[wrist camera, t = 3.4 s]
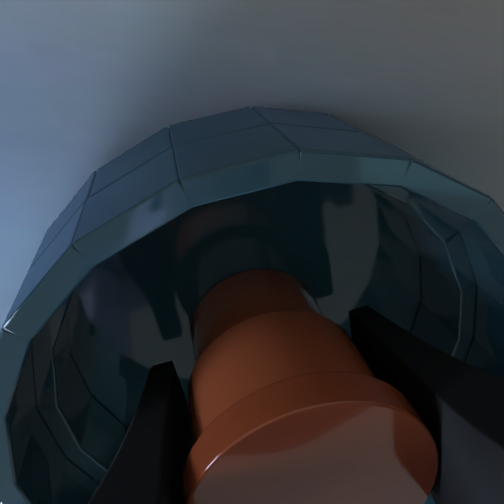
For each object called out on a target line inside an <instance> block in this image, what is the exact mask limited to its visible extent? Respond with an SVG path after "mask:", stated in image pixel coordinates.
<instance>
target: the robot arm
mask: <svg viewBox="0 0 504 504" xmlns="http://www.w3.org/2000/svg"><path fill="white" fill-rule="evenodd" d="M349 319H350V329H351V339H352V340H353V342H354V344H355V345H356V347H357V348H358V350H359V351H360V353H361V355H362V356H363V358H364V359H365V361H366V362H367V364H368V366H369V367H370V369H371V370H372V372H373V373H374V375H375V377H376V378H377V379H379V380H382V381H384V382H386V383H387V384H389V385H391V386H393V387H395V388H396V389H397V390H398V391H400V392H401V393H402V394H403V395H404V396H405V397H406V398H407V399H408V400H409V402H410V403H411V404H412V406H413V407H414V409H415V410H416V412H417V413H418V414H419V416H420V417H421V419H422V420H423V422H424V423H425V425H426V426H427V428H428V429H429V431H430V432H431V434H432V436H433V438H434V440H435V443H436V446H437V450H438V460H439V464H438V473H437V477H436V480H435V483H434V486H433V488H432V490H431V493H430V494H431V496H432V498H433V500H434V502H435V504H504V378H503V377H500V376H497V375H494V374H492V373H489V372H487V371H484V370H482V369H479V368H477V367H475V366H473V365H470V364H468V363H466V362H463V361H461V360H459V359H457V358H455V357H453V356H451V355H449V354H447V353H445V352H443V351H441V350H439V349H437V348H435V347H433V346H432V345H430V344H428V343H426V342H425V341H423V340H421V339H420V338H418V337H416V336H415V335H413V334H411V333H409V332H408V331H406V330H405V329H403V328H401V327H400V326H398V325H397V324H395V323H394V322H392V321H391V320H389V319H387V318H386V317H384V316H383V315H381V314H380V313H378V312H377V311H375V310H374V309H372V308H371V307H369V306H364V307H360V308H357V309H353V310H350V311H349ZM192 447H193V440H192V431H191V421H190V412H189V406H188V403H187V400H186V398H185V395H184V392H183V389H182V386H181V383H180V381H179V378H178V375H177V372H176V369H175V367H174V364H173V361H168V362H164V363H161V364H157V365H154V366H152V367H151V368H150V370H149V374H148V377H147V380H146V384H145V387H144V390H143V393H142V395H141V398H140V401H139V404H138V406H137V409H136V411H135V414H134V416H133V419H132V421H131V424H130V426H129V428H128V431H127V433H126V435H125V437H124V439H123V441H122V444H121V446H120V448H119V450H118V452H117V454H116V456H115V458H114V460H113V462H112V464H111V466H110V467H109V469H108V471H107V473H106V475H105V476H104V478H103V480H102V482H101V483H100V485H99V487H98V488H97V490H96V491H95V493H94V495H93V496H92V498H91V499H90V501H89V502H88V504H183V500H182V486H181V483H182V474H183V470H184V466H185V463H186V460H187V458H188V455H189V453H190V451H191V449H192Z"/></svg>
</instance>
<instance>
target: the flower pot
mask: <svg viewBox="0 0 504 504" xmlns="http://www.w3.org/2000/svg"><path fill="white" fill-rule="evenodd" d="M190 333H191V343H192V350H193V357H194V365H195V366H194V368H193V370H192V373H191V376H190V379H189V384H188V403H189V412H190V421H191V431H192V440H193V447H192V449H191V451H190V453H189V455H188V458H187V460H186V463H185V466H184V470H183V474H182V483H181V486H182V500H183V504H424V503H425V501H426V500H427V498H428V496H429V495H430V493H431V490H432V488H433V486H434V483H435V480H436V477H437V473H438V464H439V460H438V450H437V446H436V443H435V440H434V438H433V436H432V434H431V432H430V431H429V429H428V428H427V426H426V425H425V423H424V422H423V420H422V419H421V417H420V416H419V414H418V413H417V412H416V410H415V409H414V407H413V406H412V404H411V403H410V402H409V400H408V399H407V398H406V397H405V396H404V395H403V394H402V393H401V392H400V391H398V390H397V389H396V388H395V387H393V386H391V385H389V384H387V383H386V382H384V381H382V380H379V379H377V378H376V377H375V375H374V373H373V372H372V370H371V369H370V367H369V366H368V364H367V362H366V361H365V359H364V358H363V356H362V355H361V353H360V351H359V350H358V348H357V347H356V345H355V344H354V342H353V340H352V339H351V337H350V336H349V335H348V334H347V332H346V331H345V330H344V329H343V328H342V327H340V326H339V325H338V324H337V323H335V322H333V321H332V320H330V319H328V318H326V316H325V314H324V313H323V311H322V309H321V308H320V306H319V304H318V303H317V301H316V299H315V298H314V296H313V294H312V293H311V291H310V290H309V288H308V287H307V286H306V285H305V284H304V283H303V282H302V281H300V280H299V279H297V278H296V277H294V276H292V275H290V274H288V273H285V272H281V271H278V270H271V269H255V270H248V271H244V272H240V273H237V274H234V275H232V276H230V277H228V278H226V279H224V280H223V281H221V282H219V283H218V284H217V285H215V286H214V287H213V288H211V289H210V290H209V291H208V292H207V293H206V294H205V296H204V297H203V298H202V299H201V301H200V302H199V304H198V306H197V307H196V309H195V312H194V314H193V317H192V321H191V328H190Z"/></svg>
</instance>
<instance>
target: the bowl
mask: <svg viewBox="0 0 504 504" xmlns="http://www.w3.org/2000/svg"><path fill="white" fill-rule="evenodd" d="M255 269H271V270H278V271H281V272H285V273H288V274H290V275H292V276H294V277H296V278H297V279H299V280H300V281H302V282H303V283H304V284H305V285H306V286H307V287H308V288H309V290H310V291H311V293H312V294H313V296H314V298H315V299H316V301H317V303H318V304H319V306H320V308H321V309H322V311H323V313H324V314H325V316H326V318H328V319H330V320H332V321H333V322H335V323H337V324H338V325H339V326H340V327H342V328H343V329H344V330H345V331H346V332H347V334H348V335H349V336H350V337H351V329H350V319H349V311H350V310H353V309H357V308H360V307H364V306H369V307H371V308H372V309H374V310H375V311H377V312H378V313H380V314H381V315H383V316H384V317H386V318H387V319H389V320H391V321H392V322H394V323H395V324H397V325H398V326H400V327H401V328H403V329H405V330H406V331H408V332H409V333H411V334H413V335H415V336H416V337H418V338H420V339H421V340H423V341H425V342H426V343H428V344H430V345H432V346H433V347H435V348H437V349H439V350H441V351H443V352H445V353H447V354H449V355H451V356H453V357H455V358H457V359H459V360H461V361H463V362H466V363H468V364H470V365H473V366H475V367H477V368H479V369H482V370H484V371H487V372H489V373H492V374H494V375H497V376H500V377H503V378H504V212H503V211H502V209H501V208H500V207H499V206H498V204H497V203H496V202H495V201H494V199H492V198H491V197H490V196H488V195H487V194H485V193H483V192H481V191H479V190H477V189H475V188H473V187H471V186H469V185H467V184H466V183H464V182H462V181H460V180H458V179H456V178H454V177H452V176H450V175H448V174H446V173H445V172H443V171H441V170H439V169H437V168H435V167H433V166H431V165H429V164H427V163H425V162H424V161H422V160H420V159H418V158H416V157H414V156H412V155H410V154H408V153H406V152H404V151H403V150H401V149H399V148H397V147H395V146H393V145H391V144H389V143H387V142H385V141H383V140H381V139H379V138H377V137H375V136H373V135H371V134H369V133H367V132H365V131H363V130H361V129H359V128H357V127H355V126H353V125H350V124H348V123H346V122H344V121H342V120H340V119H338V118H336V117H334V116H332V115H328V114H322V113H312V112H302V111H292V110H282V109H272V108H262V107H251V108H250V107H246V108H241V109H237V110H233V111H229V112H224V113H220V114H216V115H211V116H207V117H203V118H199V119H194V120H190V121H186V122H181V123H177V124H173V125H170V126H169V128H168V127H167V128H164V129H162V130H160V131H159V132H157V133H155V134H154V135H152V136H151V137H149V138H147V139H146V140H144V141H143V142H141V143H139V144H138V145H136V146H134V147H133V148H131V149H130V150H128V151H126V152H125V153H123V154H121V155H120V156H118V157H117V158H115V159H113V160H112V161H110V162H108V163H107V164H105V165H104V166H102V167H100V168H99V169H98V170H97V171H95V172H94V173H93V174H92V175H91V176H90V178H89V179H88V180H87V181H86V183H85V184H84V185H83V186H82V188H81V189H80V190H79V191H78V193H77V194H76V195H75V196H74V198H73V199H72V200H71V201H70V203H69V204H68V205H67V206H66V208H65V209H64V210H63V211H62V212H61V214H60V215H59V216H58V217H57V219H56V220H55V221H54V222H53V224H52V225H51V226H50V227H49V229H48V230H47V232H46V234H45V236H44V238H43V240H42V243H41V245H40V247H39V249H38V251H37V253H36V255H35V258H34V260H33V262H32V264H31V266H30V268H29V270H28V273H27V275H26V277H25V279H24V281H23V283H22V285H21V287H20V290H19V292H18V294H17V296H16V298H15V300H14V302H13V305H12V307H11V309H10V311H9V313H8V315H7V317H6V320H5V322H4V324H3V326H2V328H1V330H0V503H1V504H88V502H89V501H90V499H91V498H92V496H93V495H94V493H95V491H96V490H97V488H98V487H99V485H100V483H101V482H102V480H103V478H104V476H105V475H106V473H107V471H108V469H109V467H110V466H111V464H112V462H113V460H114V458H115V456H116V454H117V452H118V450H119V448H120V446H121V444H122V441H123V439H124V437H125V435H126V433H127V431H128V428H129V426H130V424H131V421H132V419H133V416H134V414H135V411H136V409H137V406H138V404H139V401H140V398H141V395H142V393H143V390H144V387H145V384H146V380H147V377H148V374H149V370H150V368H151V367H152V366H154V365H157V364H161V363H164V362H168V361H173V364H174V367H175V369H176V372H177V375H178V378H179V381H180V383H181V386H182V389H183V392H184V395H185V398H186V400H187V403H188V384H189V379H190V376H191V373H192V370H193V368H194V366H195V365H194V357H193V350H192V343H191V333H190V328H191V321H192V317H193V314H194V312H195V309H196V307H197V306H198V304H199V302H200V301H201V299H202V298H203V297H204V296H205V294H206V293H207V292H208V291H209V290H210V289H211V288H213V287H214V286H215V285H217V284H218V283H219V282H221V281H223V280H224V279H226V278H228V277H230V276H232V275H234V274H237V273H240V272H244V271H248V270H255ZM188 406H189V403H188ZM424 504H435V502H434V500H433V498H432V496H431V494H430V495H429V496H428V498H427V500H426V501H425V503H424Z"/></svg>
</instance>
